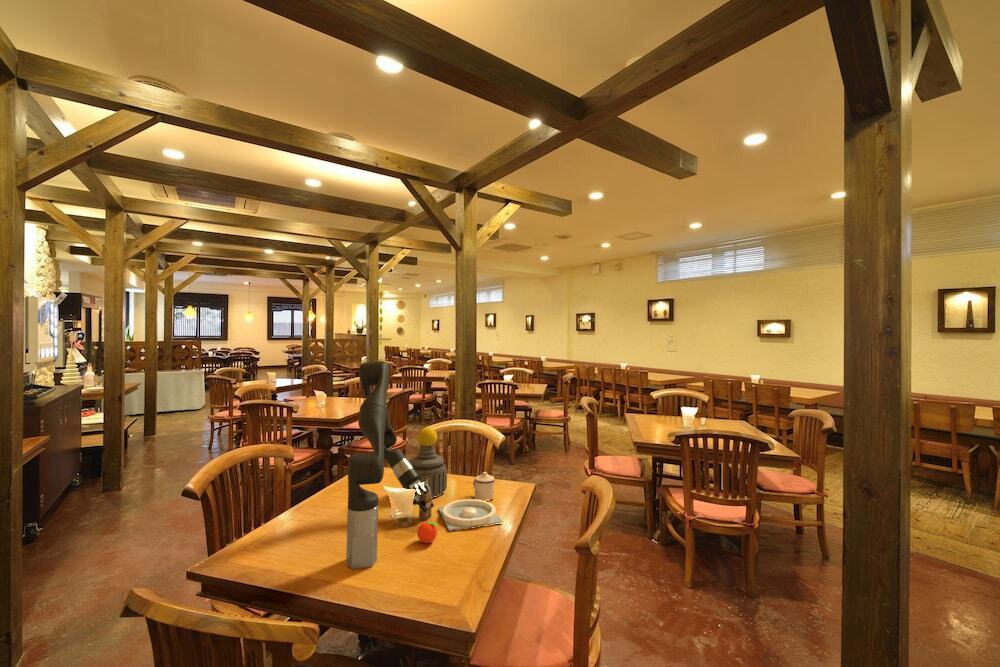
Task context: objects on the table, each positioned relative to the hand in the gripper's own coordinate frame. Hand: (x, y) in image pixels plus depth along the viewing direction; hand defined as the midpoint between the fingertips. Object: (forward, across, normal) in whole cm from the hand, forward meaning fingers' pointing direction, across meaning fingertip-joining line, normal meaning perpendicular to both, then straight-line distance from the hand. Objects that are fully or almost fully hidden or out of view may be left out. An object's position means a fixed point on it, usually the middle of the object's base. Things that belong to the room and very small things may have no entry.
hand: (429, 508), depth 158 cm
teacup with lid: (+9, +30, -3) cm, 31 cm away
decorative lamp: (-10, +23, +16) cm, 30 cm away
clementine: (+11, -16, -5) cm, 19 cm away
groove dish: (+12, +9, -6) cm, 16 cm away
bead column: (+1, 0, +4) cm, 5 cm away
